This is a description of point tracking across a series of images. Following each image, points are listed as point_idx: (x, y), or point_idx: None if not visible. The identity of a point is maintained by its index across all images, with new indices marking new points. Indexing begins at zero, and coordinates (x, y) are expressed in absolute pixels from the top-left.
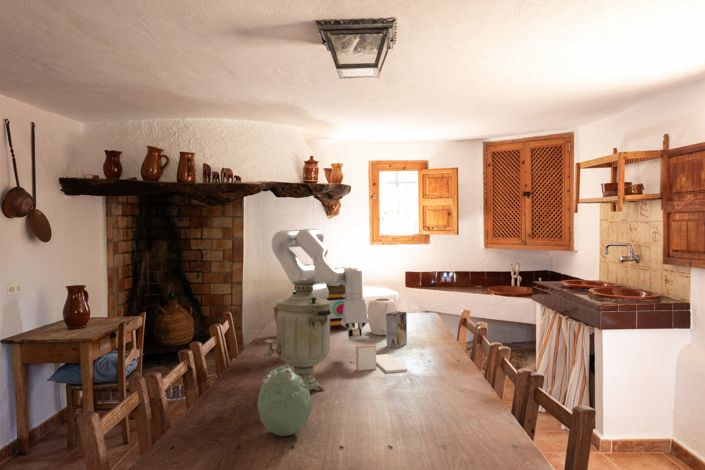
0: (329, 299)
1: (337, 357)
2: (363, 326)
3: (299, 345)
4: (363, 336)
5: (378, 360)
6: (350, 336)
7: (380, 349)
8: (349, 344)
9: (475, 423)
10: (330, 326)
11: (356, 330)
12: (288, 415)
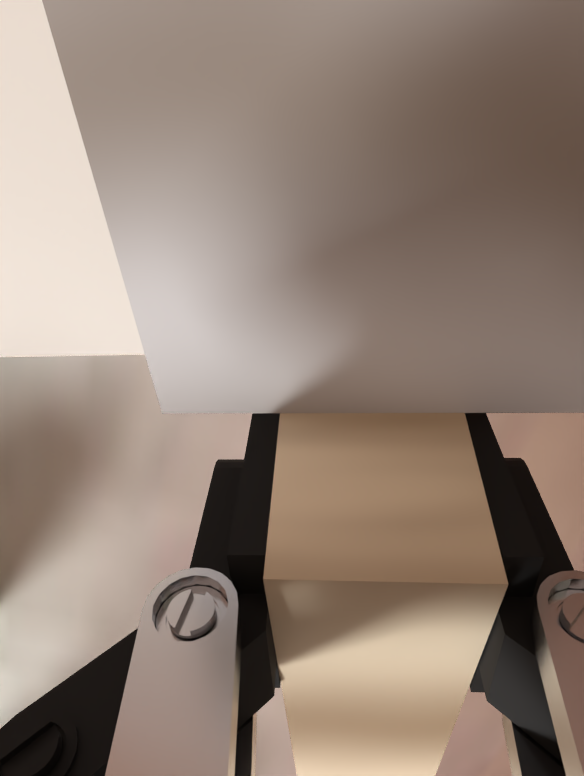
0: None
1: (513, 430)
2: (91, 665)
3: None
4: (215, 26)
5: (54, 87)
6: (551, 390)
7: (35, 558)
8: (278, 707)
9: None
10: None
11: (363, 538)
12: None
